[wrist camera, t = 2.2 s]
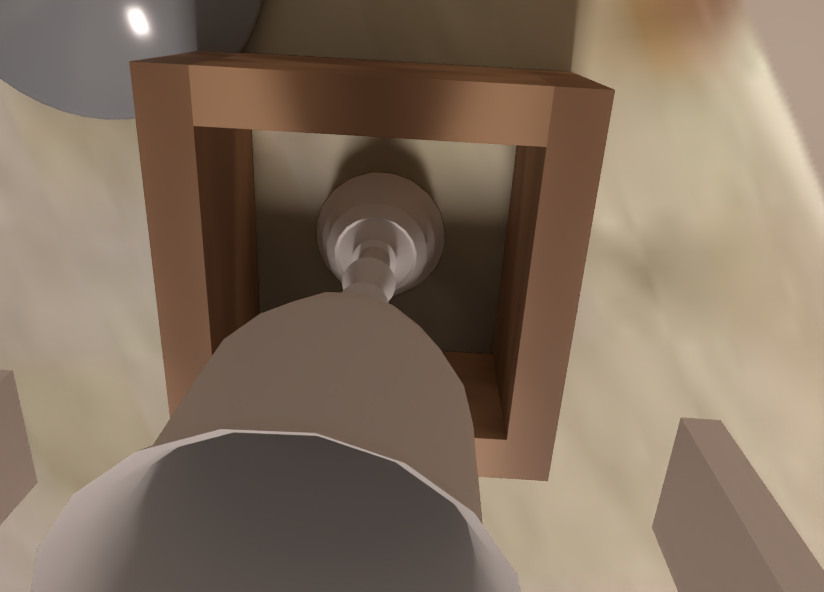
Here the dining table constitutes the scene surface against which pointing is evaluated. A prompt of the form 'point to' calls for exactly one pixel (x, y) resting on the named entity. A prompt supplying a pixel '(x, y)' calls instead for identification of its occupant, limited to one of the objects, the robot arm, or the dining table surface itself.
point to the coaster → (108, 45)
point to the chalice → (304, 444)
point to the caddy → (393, 118)
